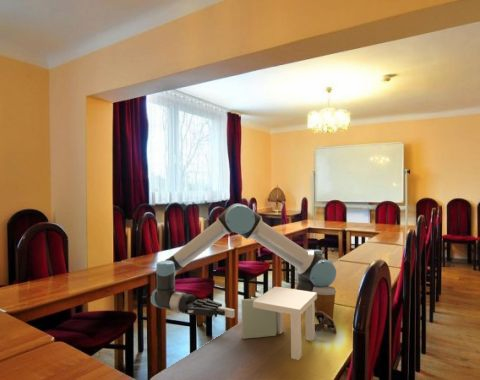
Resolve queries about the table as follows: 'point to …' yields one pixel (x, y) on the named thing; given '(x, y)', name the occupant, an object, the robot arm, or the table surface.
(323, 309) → the disposable coffee cup
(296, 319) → the stool
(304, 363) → the table surface
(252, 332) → the panel
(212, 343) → the table surface
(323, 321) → the brown curved piece
